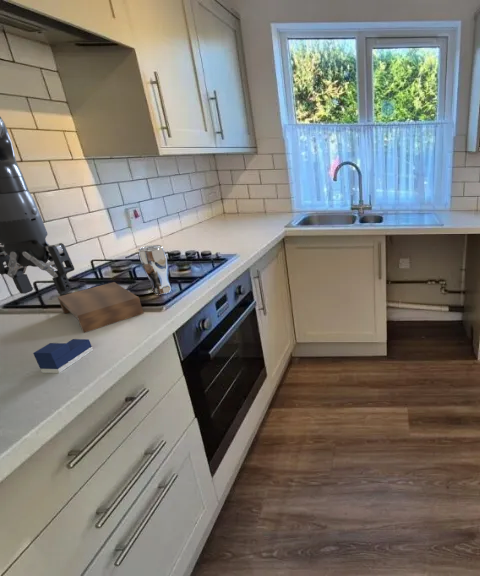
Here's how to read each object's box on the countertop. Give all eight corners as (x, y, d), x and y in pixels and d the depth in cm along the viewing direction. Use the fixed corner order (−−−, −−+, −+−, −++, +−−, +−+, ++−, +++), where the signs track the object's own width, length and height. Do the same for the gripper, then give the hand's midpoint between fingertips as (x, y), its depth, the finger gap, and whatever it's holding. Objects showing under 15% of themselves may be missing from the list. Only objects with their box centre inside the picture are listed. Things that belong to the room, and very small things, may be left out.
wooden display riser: (84, 332, 93) (77, 315, 91) (63, 312, 105) (57, 296, 103) (143, 313, 103) (138, 297, 101) (119, 296, 115) (114, 281, 113)
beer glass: (148, 292, 117) (135, 247, 112) (171, 286, 122) (160, 243, 116) (153, 298, 113) (139, 252, 107) (177, 292, 117) (165, 247, 111)
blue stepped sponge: (59, 373, 77) (50, 353, 75) (41, 372, 77) (32, 352, 75) (93, 350, 85) (86, 331, 83) (77, 349, 86) (69, 331, 84)
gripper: (-43, 220, 67) (-4, 299, 73) (29, 219, 66) (62, 300, 72) (-1, 212, 74) (31, 285, 80) (65, 211, 73) (92, 285, 79)
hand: (46, 292), depth 76 cm, fingers open, 8 cm apart
